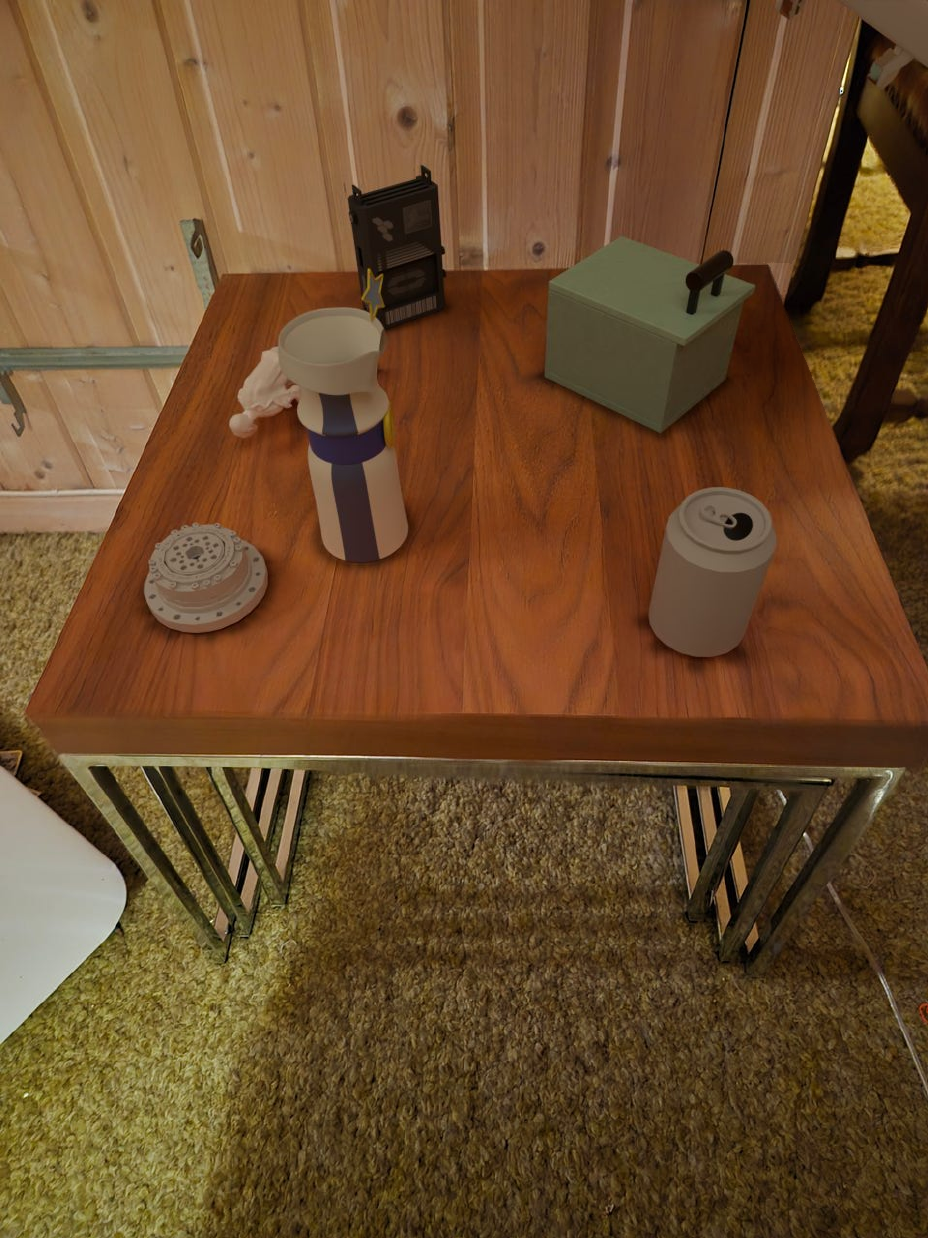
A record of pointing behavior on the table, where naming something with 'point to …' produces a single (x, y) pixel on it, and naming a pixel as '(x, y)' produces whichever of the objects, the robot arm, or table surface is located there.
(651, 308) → the box lid
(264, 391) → the figurine
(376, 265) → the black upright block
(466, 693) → the table surface
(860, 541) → the table surface
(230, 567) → the mechanical component
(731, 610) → the can
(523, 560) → the table surface
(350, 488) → the water bottle
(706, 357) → the green box
